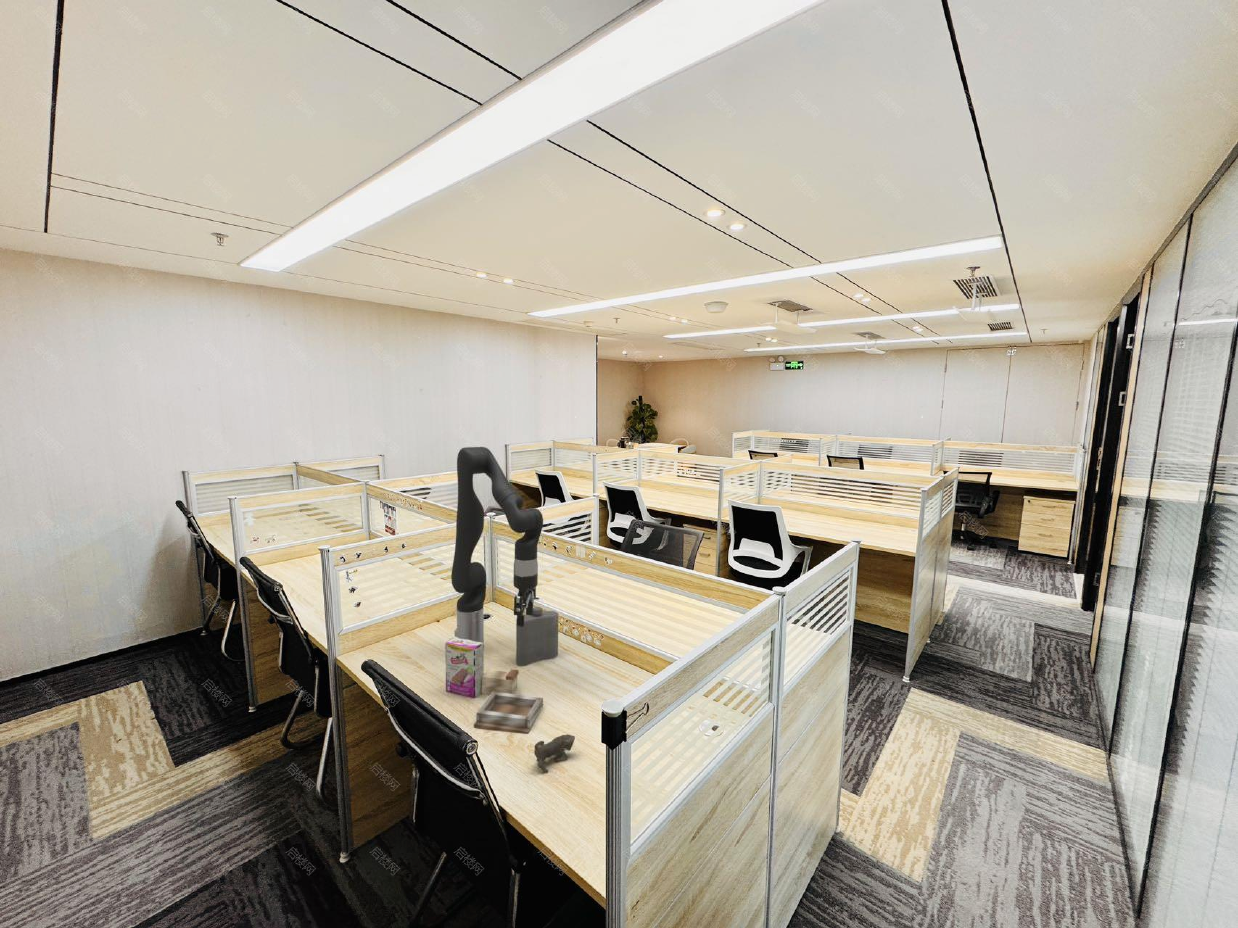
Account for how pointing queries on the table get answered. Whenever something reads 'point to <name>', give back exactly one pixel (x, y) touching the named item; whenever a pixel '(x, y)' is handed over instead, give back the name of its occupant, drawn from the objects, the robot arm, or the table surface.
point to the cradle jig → (508, 712)
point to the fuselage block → (499, 681)
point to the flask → (537, 637)
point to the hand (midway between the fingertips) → (525, 620)
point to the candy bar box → (464, 666)
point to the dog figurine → (553, 749)
